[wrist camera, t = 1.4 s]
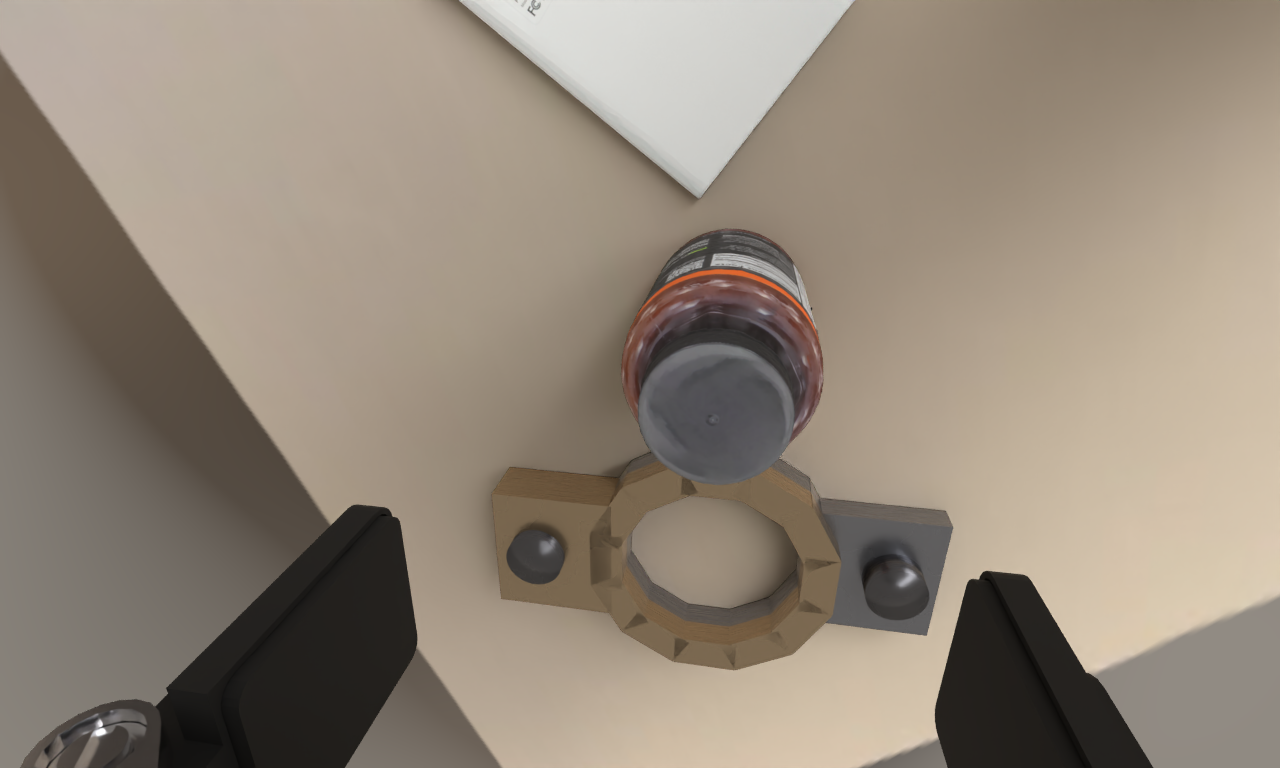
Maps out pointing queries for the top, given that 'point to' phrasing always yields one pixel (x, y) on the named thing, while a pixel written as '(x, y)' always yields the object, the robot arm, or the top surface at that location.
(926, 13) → the top surface
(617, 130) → the external hard drive
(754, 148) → the top surface
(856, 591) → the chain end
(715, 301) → the supplement bottle
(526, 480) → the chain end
